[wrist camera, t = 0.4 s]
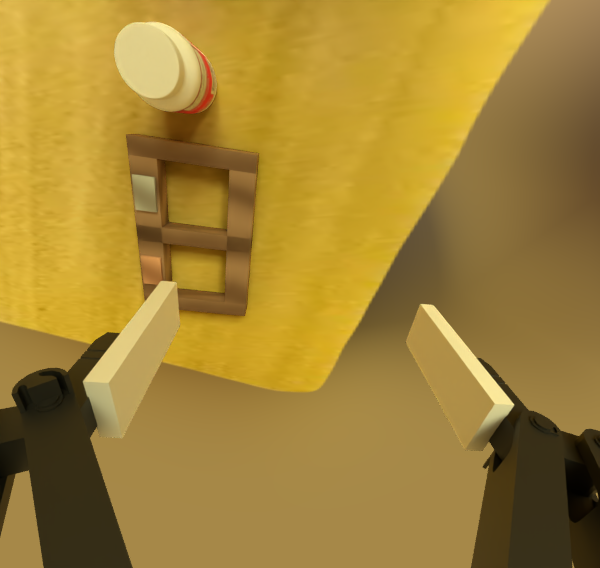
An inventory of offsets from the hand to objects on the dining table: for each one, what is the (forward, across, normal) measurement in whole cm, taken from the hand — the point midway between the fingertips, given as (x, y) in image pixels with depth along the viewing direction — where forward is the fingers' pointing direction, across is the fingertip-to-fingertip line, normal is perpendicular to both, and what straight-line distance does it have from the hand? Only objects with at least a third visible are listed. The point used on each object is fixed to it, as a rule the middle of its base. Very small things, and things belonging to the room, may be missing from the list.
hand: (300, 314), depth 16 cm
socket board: (+25, -12, -6) cm, 28 cm away
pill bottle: (+26, -12, +12) cm, 31 cm away
